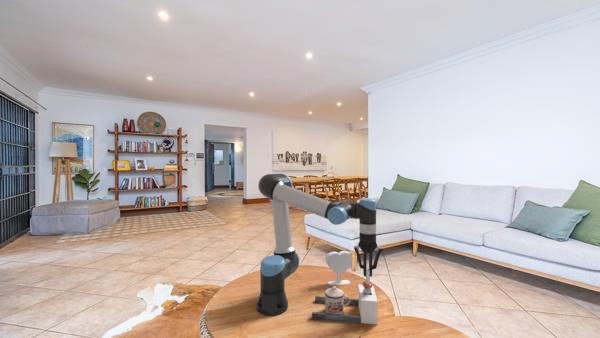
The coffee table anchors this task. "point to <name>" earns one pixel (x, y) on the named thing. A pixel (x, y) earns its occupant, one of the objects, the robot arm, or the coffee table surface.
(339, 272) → the heart sculpture
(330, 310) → the teacup with lid
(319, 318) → the pair of grey rails
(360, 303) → the end cabinet
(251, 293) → the coffee table surface
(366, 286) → the red knob
